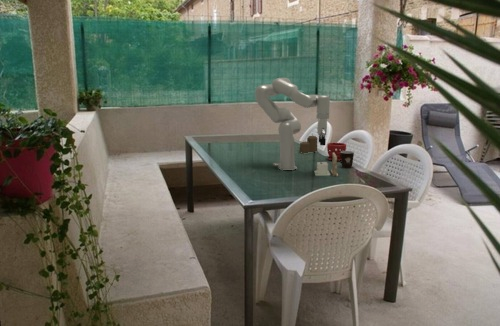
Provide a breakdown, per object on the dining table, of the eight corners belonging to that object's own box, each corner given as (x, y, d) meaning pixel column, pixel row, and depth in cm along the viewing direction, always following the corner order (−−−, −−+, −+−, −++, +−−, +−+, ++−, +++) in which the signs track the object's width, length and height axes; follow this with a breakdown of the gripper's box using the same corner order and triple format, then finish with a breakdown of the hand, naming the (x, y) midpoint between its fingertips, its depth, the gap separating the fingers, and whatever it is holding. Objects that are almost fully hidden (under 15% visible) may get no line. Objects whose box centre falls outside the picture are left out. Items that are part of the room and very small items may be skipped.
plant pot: (345, 162, 295) (346, 145, 292) (326, 161, 297) (327, 145, 295) (345, 158, 307) (346, 142, 305) (327, 158, 310) (327, 141, 307)
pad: (315, 175, 259) (315, 174, 259) (314, 171, 270) (314, 170, 270) (330, 175, 259) (330, 174, 259) (328, 171, 269) (328, 170, 269)
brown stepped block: (316, 150, 339) (316, 132, 335) (318, 154, 325) (318, 134, 322) (299, 150, 339) (299, 132, 336) (300, 154, 326) (300, 135, 323)
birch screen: (333, 176, 258) (333, 156, 255) (330, 171, 270) (331, 152, 268) (338, 176, 257) (338, 156, 255) (335, 171, 270) (335, 152, 267)
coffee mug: (355, 166, 282) (355, 151, 280) (351, 168, 275) (351, 153, 272) (338, 164, 288) (338, 150, 286) (334, 167, 280) (334, 152, 278)
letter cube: (317, 173, 262) (317, 164, 260) (316, 171, 268) (317, 161, 266) (328, 173, 261) (328, 163, 260) (327, 171, 267) (327, 161, 266)
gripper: (315, 114, 265) (314, 141, 269) (317, 117, 249) (316, 146, 253) (327, 114, 265) (326, 141, 269) (330, 117, 248) (329, 146, 252)
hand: (321, 143), depth 261 cm, fingers open, 9 cm apart
